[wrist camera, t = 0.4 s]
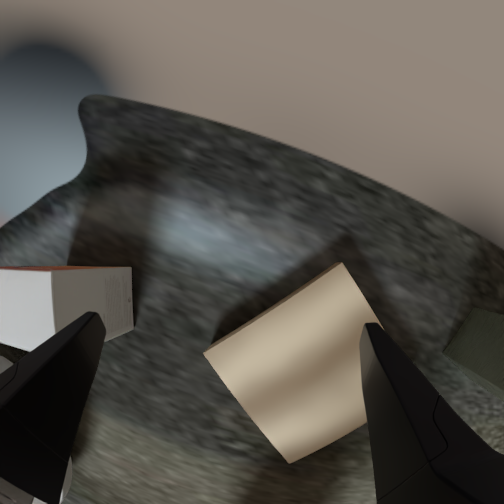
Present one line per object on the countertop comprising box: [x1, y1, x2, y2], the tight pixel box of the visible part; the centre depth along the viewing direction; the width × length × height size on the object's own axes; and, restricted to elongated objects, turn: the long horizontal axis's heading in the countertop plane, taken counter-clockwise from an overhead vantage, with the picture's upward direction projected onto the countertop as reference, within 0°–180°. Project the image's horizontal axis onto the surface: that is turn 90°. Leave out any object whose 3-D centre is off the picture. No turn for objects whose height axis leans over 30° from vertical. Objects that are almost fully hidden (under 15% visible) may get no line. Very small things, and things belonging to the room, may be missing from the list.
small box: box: [0, 266, 134, 352], centre depth 21 cm, size 8×6×10 cm
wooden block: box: [203, 262, 383, 464], centre depth 23 cm, size 12×12×3 cm
